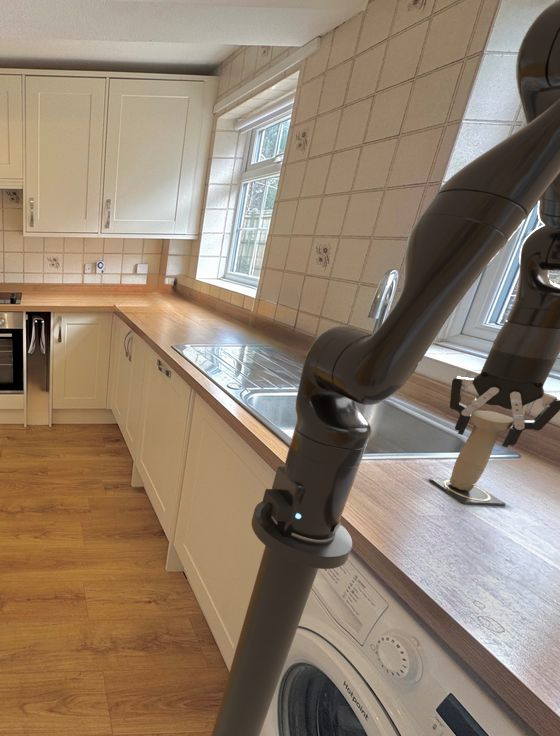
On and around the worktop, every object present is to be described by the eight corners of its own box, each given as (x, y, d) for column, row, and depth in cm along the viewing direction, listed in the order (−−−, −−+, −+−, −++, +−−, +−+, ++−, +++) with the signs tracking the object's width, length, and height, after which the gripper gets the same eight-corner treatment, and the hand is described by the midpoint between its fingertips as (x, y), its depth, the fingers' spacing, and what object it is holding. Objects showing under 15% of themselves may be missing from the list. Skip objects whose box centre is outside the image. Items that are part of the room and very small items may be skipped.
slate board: (463, 504, 75) (465, 501, 74) (428, 480, 82) (430, 477, 82) (505, 505, 75) (506, 503, 74) (466, 482, 82) (467, 479, 81)
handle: (485, 490, 78) (520, 419, 72) (465, 497, 75) (500, 424, 70) (454, 477, 82) (485, 408, 76) (434, 483, 79) (465, 413, 74)
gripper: (463, 344, 71) (427, 430, 78) (593, 365, 61) (540, 462, 67) (468, 338, 76) (434, 420, 82) (590, 357, 66) (541, 449, 72)
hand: (482, 439), depth 75 cm, fingers closed on handle, 5 cm apart
